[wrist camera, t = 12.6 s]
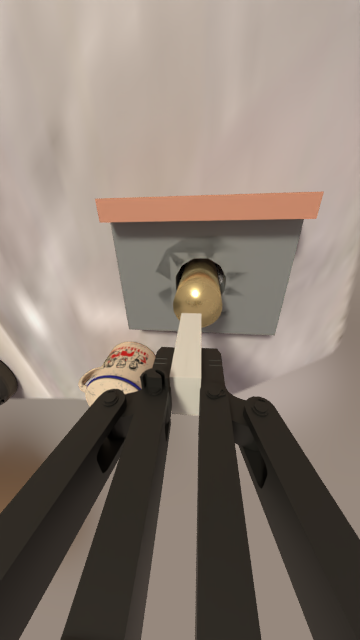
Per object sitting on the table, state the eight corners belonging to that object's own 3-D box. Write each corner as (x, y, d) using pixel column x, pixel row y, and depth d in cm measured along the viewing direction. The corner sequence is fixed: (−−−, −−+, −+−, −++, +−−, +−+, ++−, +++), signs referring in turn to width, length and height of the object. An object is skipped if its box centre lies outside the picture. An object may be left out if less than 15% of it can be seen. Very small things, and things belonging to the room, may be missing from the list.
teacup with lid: (155, 339, 34) (134, 396, 24) (162, 379, 38) (146, 441, 28) (88, 339, 35) (42, 392, 25) (102, 377, 40) (67, 435, 30)
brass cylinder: (183, 290, 29) (173, 326, 20) (183, 257, 27) (171, 282, 18) (216, 291, 28) (220, 328, 20) (218, 257, 26) (224, 283, 17)
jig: (136, 317, 32) (122, 339, 27) (119, 200, 24) (95, 198, 19) (267, 322, 30) (280, 346, 25) (295, 194, 22) (323, 191, 17)
